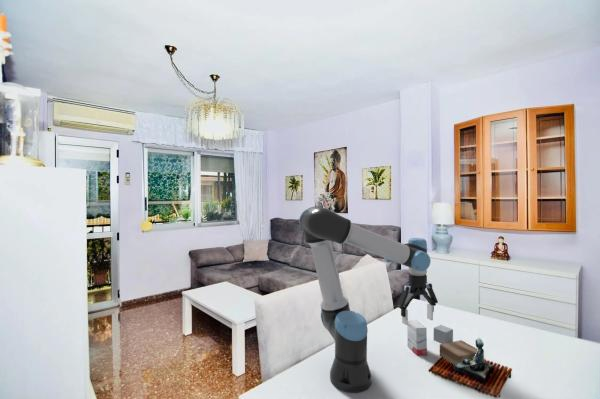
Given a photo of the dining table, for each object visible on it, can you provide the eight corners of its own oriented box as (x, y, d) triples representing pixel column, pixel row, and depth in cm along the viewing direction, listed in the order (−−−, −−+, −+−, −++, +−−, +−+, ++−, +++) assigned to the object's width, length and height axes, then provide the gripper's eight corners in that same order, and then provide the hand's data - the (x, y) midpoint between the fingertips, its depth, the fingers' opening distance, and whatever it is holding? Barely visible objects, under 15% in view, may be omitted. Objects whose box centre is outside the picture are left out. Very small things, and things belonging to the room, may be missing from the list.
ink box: (427, 355, 128) (427, 328, 128) (416, 356, 127) (416, 328, 127) (416, 345, 137) (417, 319, 137) (406, 345, 136) (406, 320, 136)
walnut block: (459, 369, 118) (459, 356, 118) (439, 356, 128) (439, 344, 127) (481, 363, 122) (481, 351, 122) (460, 351, 132) (461, 340, 131)
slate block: (445, 345, 137) (445, 332, 137) (433, 340, 142) (433, 327, 142) (452, 342, 140) (453, 329, 140) (440, 337, 145) (440, 324, 145)
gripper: (399, 278, 124) (399, 329, 124) (446, 272, 132) (446, 320, 133) (388, 274, 131) (388, 322, 131) (433, 269, 139) (433, 314, 140)
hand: (417, 321), depth 132 cm, fingers open, 13 cm apart
